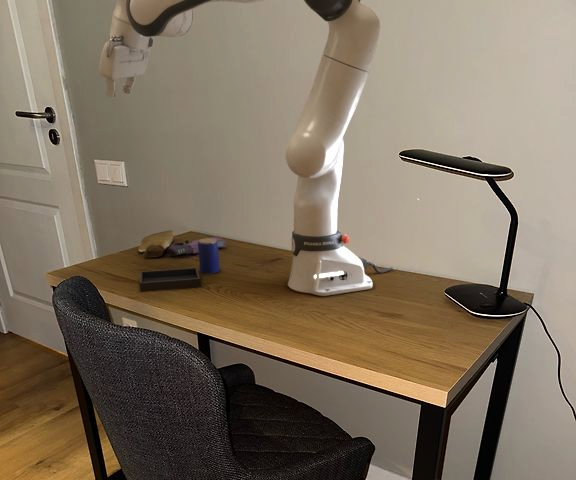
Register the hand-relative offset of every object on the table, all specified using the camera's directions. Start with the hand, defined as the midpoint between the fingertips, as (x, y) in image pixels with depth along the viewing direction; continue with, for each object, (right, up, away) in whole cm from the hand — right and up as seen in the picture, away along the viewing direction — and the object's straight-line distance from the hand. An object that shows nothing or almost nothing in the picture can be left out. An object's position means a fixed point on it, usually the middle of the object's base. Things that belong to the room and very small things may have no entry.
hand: (118, 94), depth 147 cm
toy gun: (+13, -31, +38) cm, 51 cm away
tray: (+11, -47, +9) cm, 49 cm away
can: (+21, -42, +18) cm, 50 cm away
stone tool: (+1, -30, +41) cm, 51 cm away
